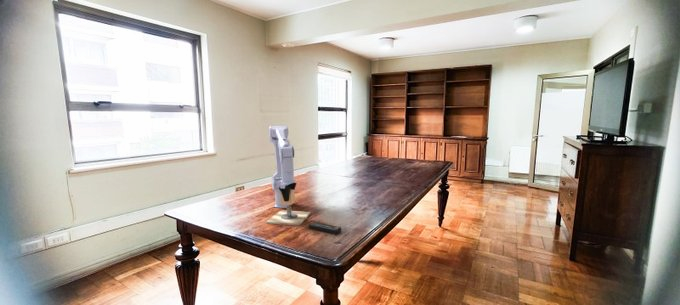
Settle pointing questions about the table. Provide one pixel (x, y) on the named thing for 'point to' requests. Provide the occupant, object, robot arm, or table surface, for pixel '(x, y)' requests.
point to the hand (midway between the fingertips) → (288, 199)
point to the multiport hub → (325, 228)
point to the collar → (291, 198)
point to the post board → (288, 217)
